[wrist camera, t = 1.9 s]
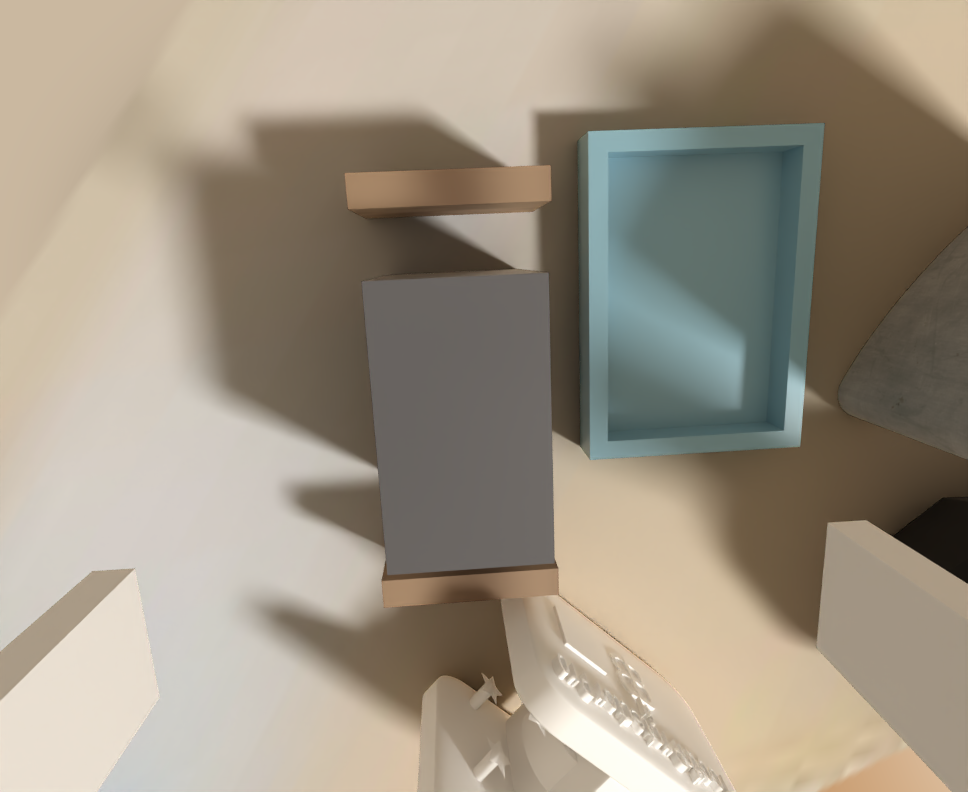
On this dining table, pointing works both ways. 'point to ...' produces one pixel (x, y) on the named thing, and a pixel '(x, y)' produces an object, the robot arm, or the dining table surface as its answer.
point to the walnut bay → (456, 197)
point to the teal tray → (695, 287)
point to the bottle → (941, 535)
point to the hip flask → (919, 359)
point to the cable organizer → (564, 718)
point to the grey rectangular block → (462, 418)
